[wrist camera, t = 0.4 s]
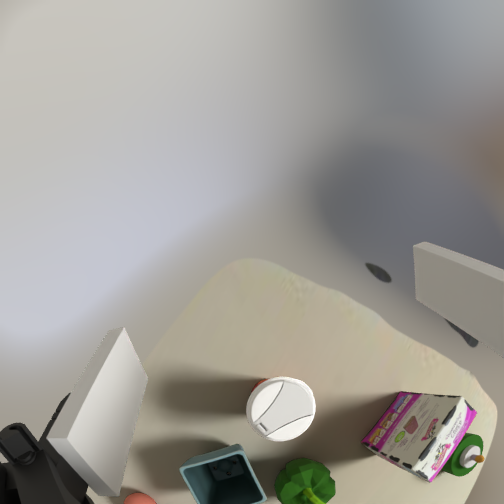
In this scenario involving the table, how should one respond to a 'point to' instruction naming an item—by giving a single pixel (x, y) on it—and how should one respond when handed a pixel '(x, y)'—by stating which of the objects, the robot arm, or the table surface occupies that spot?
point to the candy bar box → (420, 432)
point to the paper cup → (280, 408)
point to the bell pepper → (304, 483)
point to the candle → (465, 455)
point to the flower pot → (222, 478)
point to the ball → (139, 499)
